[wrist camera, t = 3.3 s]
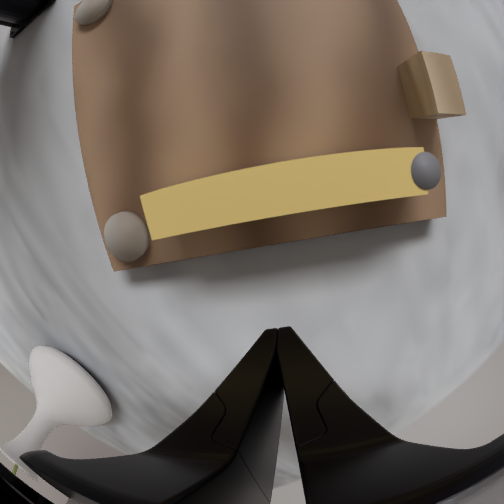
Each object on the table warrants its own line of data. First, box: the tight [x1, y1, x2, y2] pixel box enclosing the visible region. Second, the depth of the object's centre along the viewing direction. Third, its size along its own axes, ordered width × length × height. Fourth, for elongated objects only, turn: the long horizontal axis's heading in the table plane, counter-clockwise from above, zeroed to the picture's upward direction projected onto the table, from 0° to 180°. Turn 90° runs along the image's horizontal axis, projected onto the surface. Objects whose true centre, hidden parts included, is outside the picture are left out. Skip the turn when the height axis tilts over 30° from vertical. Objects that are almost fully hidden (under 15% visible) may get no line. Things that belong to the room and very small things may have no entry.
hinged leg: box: [140, 147, 441, 240], centre depth 11 cm, size 13×2×3 cm, turn 101°
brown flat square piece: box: [72, 0, 466, 271], centre depth 10 cm, size 20×20×4 cm
